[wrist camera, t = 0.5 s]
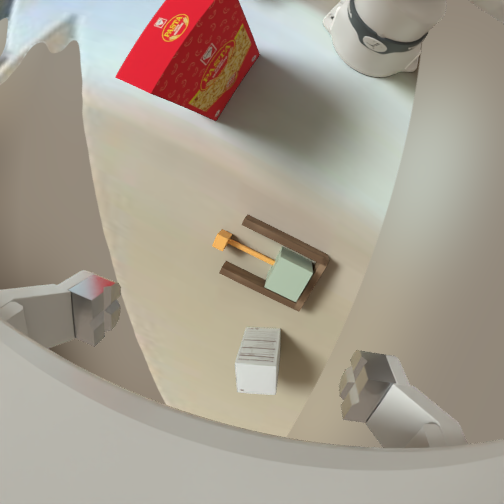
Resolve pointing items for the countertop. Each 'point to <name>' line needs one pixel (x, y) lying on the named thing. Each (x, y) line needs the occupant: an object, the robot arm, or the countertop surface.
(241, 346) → the supplement box
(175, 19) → the food packaging
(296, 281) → the block
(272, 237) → the lane
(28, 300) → the robot arm
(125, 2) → the countertop surface
